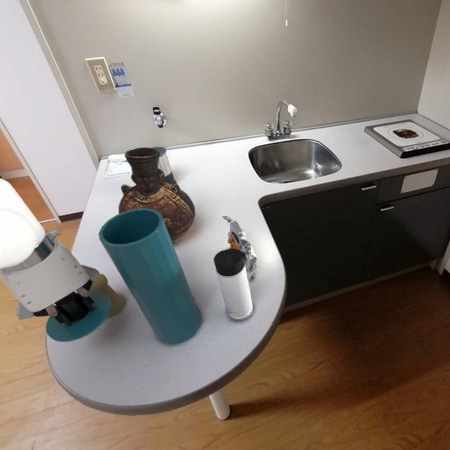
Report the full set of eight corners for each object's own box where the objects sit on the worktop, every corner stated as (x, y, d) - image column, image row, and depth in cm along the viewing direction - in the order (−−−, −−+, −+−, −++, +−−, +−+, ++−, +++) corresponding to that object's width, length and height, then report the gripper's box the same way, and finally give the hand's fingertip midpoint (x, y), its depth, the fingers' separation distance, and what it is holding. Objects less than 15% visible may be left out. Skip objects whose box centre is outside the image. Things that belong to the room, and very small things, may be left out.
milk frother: (164, 177, 126) (153, 144, 117) (194, 186, 121) (185, 152, 112) (137, 195, 117) (122, 161, 107) (169, 206, 111) (156, 170, 102)
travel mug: (229, 325, 74) (213, 270, 61) (227, 303, 79) (212, 247, 66) (254, 319, 75) (244, 264, 62) (251, 298, 80) (241, 242, 67)
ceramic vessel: (125, 261, 91) (76, 172, 71) (140, 223, 104) (102, 140, 84) (198, 253, 93) (170, 165, 73) (203, 217, 106) (180, 135, 87)
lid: (62, 355, 56) (42, 336, 52) (40, 321, 62) (20, 301, 58) (122, 313, 63) (109, 293, 59) (97, 285, 69) (83, 265, 64)
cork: (128, 303, 79) (111, 275, 72) (106, 321, 75) (86, 293, 68) (115, 293, 82) (96, 265, 74) (93, 310, 78) (71, 282, 71)
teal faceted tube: (172, 353, 69) (117, 255, 48) (147, 327, 74) (88, 228, 53) (209, 321, 75) (174, 223, 54) (184, 299, 80) (143, 201, 60)
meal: (224, 251, 93) (216, 218, 85) (237, 246, 95) (230, 213, 87) (246, 283, 84) (240, 249, 75) (260, 276, 86) (255, 242, 77)
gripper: (70, 216, 56) (110, 279, 68) (-47, 269, 47) (25, 332, 59) (88, 233, 53) (127, 297, 65) (-35, 294, 43) (39, 356, 55)
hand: (78, 313), depth 62 cm, fingers closed on lid, 3 cm apart
